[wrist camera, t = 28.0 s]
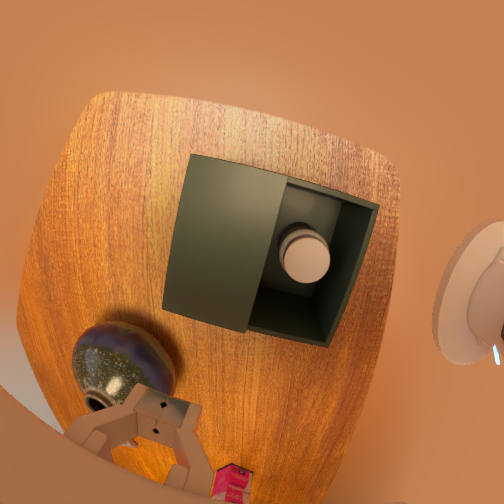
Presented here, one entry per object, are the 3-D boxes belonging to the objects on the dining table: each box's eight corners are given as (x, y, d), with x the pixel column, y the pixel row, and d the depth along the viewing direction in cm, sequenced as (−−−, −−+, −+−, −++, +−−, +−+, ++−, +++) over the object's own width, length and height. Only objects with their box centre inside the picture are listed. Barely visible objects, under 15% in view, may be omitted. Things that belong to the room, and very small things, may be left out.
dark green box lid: (163, 307, 22) (161, 309, 22) (192, 154, 19) (190, 153, 19) (245, 331, 22) (245, 333, 22) (288, 176, 19) (288, 176, 19)
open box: (195, 270, 33) (163, 305, 23) (219, 164, 30) (192, 153, 19) (313, 301, 33) (328, 348, 22) (346, 198, 29) (380, 205, 19)
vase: (162, 298, 34) (112, 352, 21) (201, 387, 37) (177, 452, 24) (84, 313, 36) (32, 354, 23) (124, 389, 39) (90, 439, 26)
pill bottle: (325, 251, 31) (342, 274, 22) (288, 268, 31) (293, 296, 23) (309, 214, 30) (322, 224, 22) (270, 231, 30) (270, 248, 22)
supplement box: (254, 471, 43) (249, 513, 32) (237, 478, 44) (231, 517, 33) (231, 462, 42) (224, 506, 31) (216, 470, 44) (207, 510, 33)
